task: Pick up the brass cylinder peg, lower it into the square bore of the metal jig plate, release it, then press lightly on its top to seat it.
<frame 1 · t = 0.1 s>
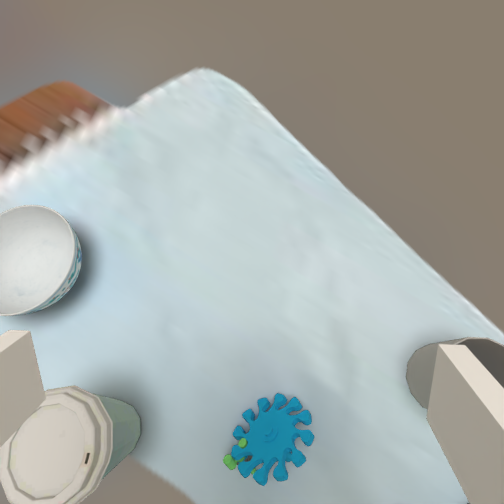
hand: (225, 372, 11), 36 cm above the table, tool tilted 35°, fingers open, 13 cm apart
disposable coffee cup: (118, 425, 45), on the table
cup: (440, 378, 43), on the table
gear: (268, 432, 43), on the table
chinaware: (55, 273, 52), on the table
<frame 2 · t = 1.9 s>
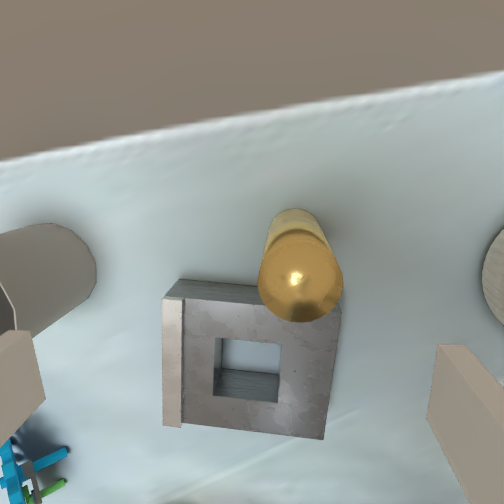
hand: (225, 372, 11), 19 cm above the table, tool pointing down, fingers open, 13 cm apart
cup: (55, 266, 33), on the table
jig: (251, 345, 33), on the table
brass cylinder peg: (294, 234, 30), on the table
gear: (41, 449, 39), on the table
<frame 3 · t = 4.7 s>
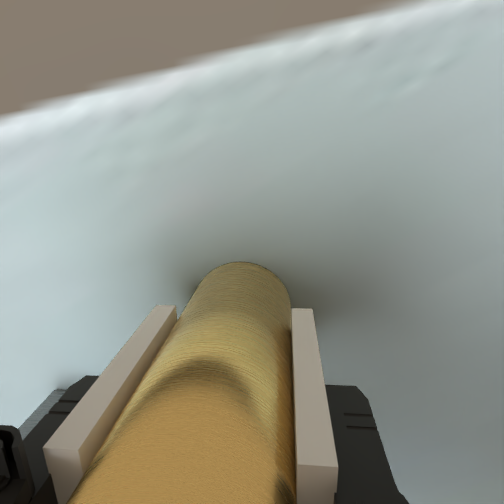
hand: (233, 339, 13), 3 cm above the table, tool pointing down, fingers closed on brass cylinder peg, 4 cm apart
jig: (193, 486, 19), on the table
brass cylinder peg: (242, 307, 16), on the table, touching gripper
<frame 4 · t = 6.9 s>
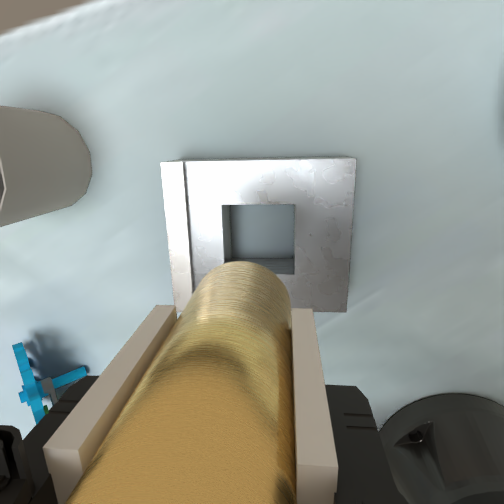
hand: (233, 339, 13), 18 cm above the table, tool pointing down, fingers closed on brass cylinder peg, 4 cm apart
cup: (47, 161, 31), on the table
jig: (262, 228, 31), on the table
brass cylinder peg: (242, 307, 16), point 16 cm above the table, touching gripper
gear: (59, 371, 38), on the table
when the fingers open (5 cm above the table, at t = 9.3 s): brass cylinder peg drops 2 cm, resting in jig.
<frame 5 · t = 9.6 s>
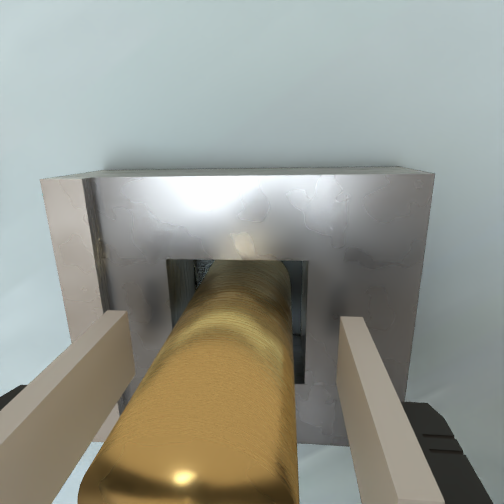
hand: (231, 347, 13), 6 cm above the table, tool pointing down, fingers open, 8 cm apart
jig: (247, 286, 18), on the table
brass cylinder peg: (248, 286, 18), resting in jig
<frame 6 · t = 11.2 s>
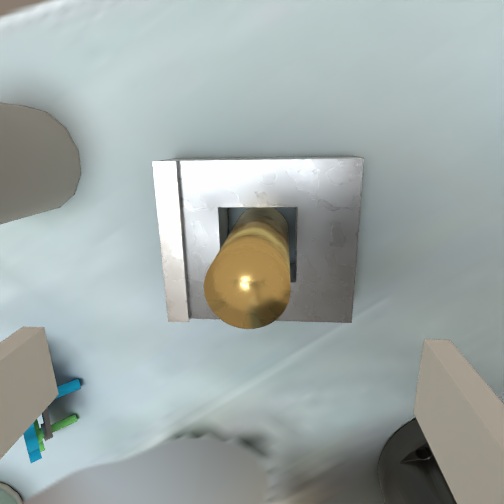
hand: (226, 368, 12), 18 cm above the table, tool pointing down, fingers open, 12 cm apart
cup: (34, 160, 29), on the table
jig: (261, 232, 29), on the table
brass cylinder peg: (261, 232, 29), resting in jig
gear: (51, 382, 36), on the table
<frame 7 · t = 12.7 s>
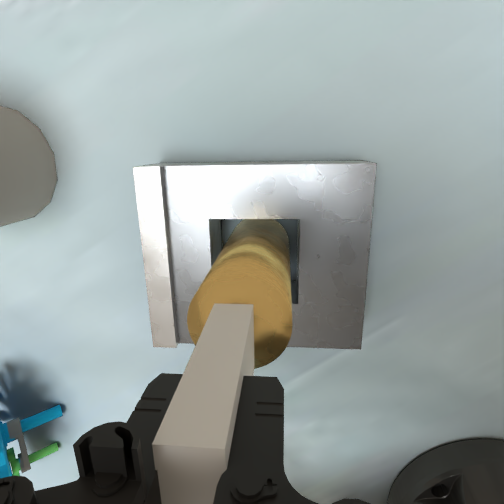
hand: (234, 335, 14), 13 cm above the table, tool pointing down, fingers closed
cup: (5, 165, 26), on the table
jig: (259, 245, 26), on the table
brass cylinder peg: (259, 244, 26), resting in jig
gear: (30, 407, 33), on the table
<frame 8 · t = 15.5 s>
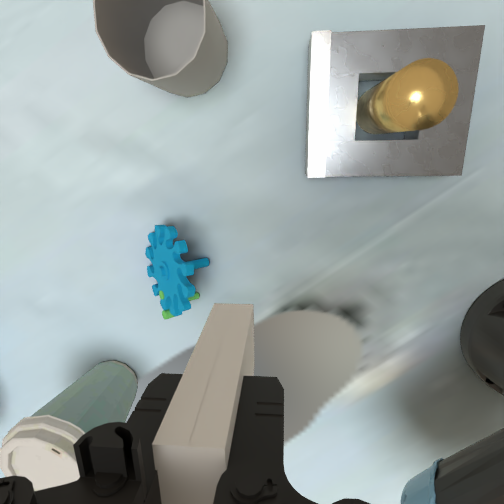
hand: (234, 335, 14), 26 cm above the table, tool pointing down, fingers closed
disposable coffee cup: (114, 377, 48), on the table
cup: (186, 51, 35), on the table
jig: (377, 111, 35), on the table
brass cylinder peg: (377, 110, 35), resting in jig
gear: (179, 262, 42), on the table
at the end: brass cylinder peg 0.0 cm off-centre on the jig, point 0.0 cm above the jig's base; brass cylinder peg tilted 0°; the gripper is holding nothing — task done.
